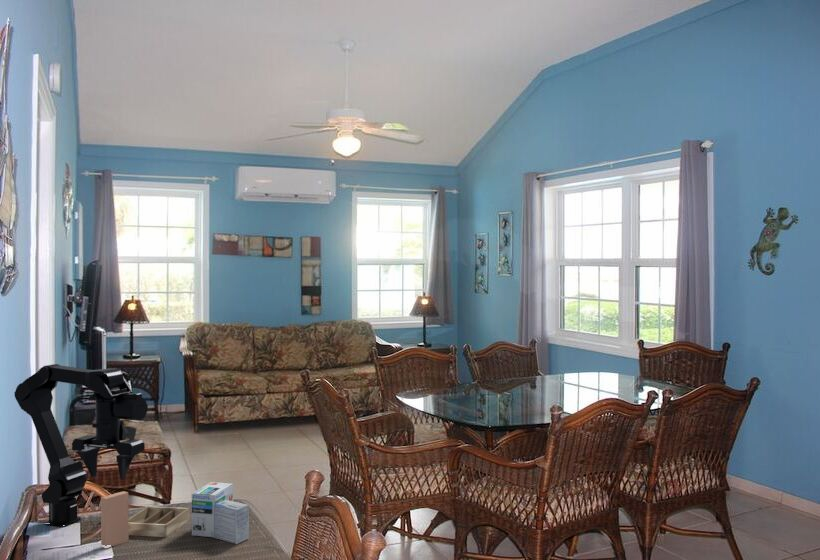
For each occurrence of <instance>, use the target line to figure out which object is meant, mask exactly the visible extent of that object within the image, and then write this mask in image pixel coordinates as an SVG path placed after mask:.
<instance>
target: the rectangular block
mask: <svg viewBox="0 0 820 560" xmlns="http://www.w3.org/2000/svg"><path fill="white" fill-rule="evenodd" d="M128 519H129V492H128V491H120V492H116V493H113V494H108V495H105V496H101V497H100V537H101V538H100V545H101V544H102V545H105V546H107V545H111V546H113V547H115V546H119V545H121V544H124V543H127V542H129V536H130V535H129V521H128Z"/></svg>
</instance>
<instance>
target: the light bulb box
mask: <svg viewBox="0 0 820 560" xmlns="http://www.w3.org/2000/svg"><path fill="white" fill-rule="evenodd" d="M225 500H229V501H234V484H233V483H229V482H228V483H226V482H218V481H217V482H215V481H210V482H209V483H207V484H205V485H204V486H203V487H200V488H199V489H197V490H196V491H193V492H191V536H193V537H194V536H195V537H207V538H208V537H209V538H214V505H215V504H217V503H219V502H222V501H225Z"/></svg>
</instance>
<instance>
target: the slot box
mask: <svg viewBox="0 0 820 560" xmlns="http://www.w3.org/2000/svg"><path fill="white" fill-rule="evenodd" d="M190 513H191V510H190V507H174V506H173V507H172V506H171V507H170V506H152V505H147V506H145V507H144V508H142V509H141V510H139V511H138V512H136V513H135V514H134V515H132V516H130V517H128V521H129V536H139V537H140V536H141V537H157V538H158V537H159V538H160V537H161V538H167V537H169V536H170V535H171V534H173V533H174V532H176V531H177V530H178V529H179V528H180V527H182V526H183V525H185V524H186V523H187V522H188V521H189V520H190V518H191V517H190V516H191V514H190Z"/></svg>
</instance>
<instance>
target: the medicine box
mask: <svg viewBox="0 0 820 560" xmlns="http://www.w3.org/2000/svg"><path fill="white" fill-rule="evenodd" d="M249 517H250V516H249V505H248V504H247V503H246V504H245V503H241V502H238V501H234V500H233V501H229V500H225V501H222V502H219V503H217V504H215V505H214V537H213V538H214V539H217V540H221V541H225V542H228V543H230V544H231V543H232V544H234V545H238V544H240V543H242V542H244V541H247V540H249V538H250V531H249V530H250V529H249V527H250V526H249V521H250V520H249Z"/></svg>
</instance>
